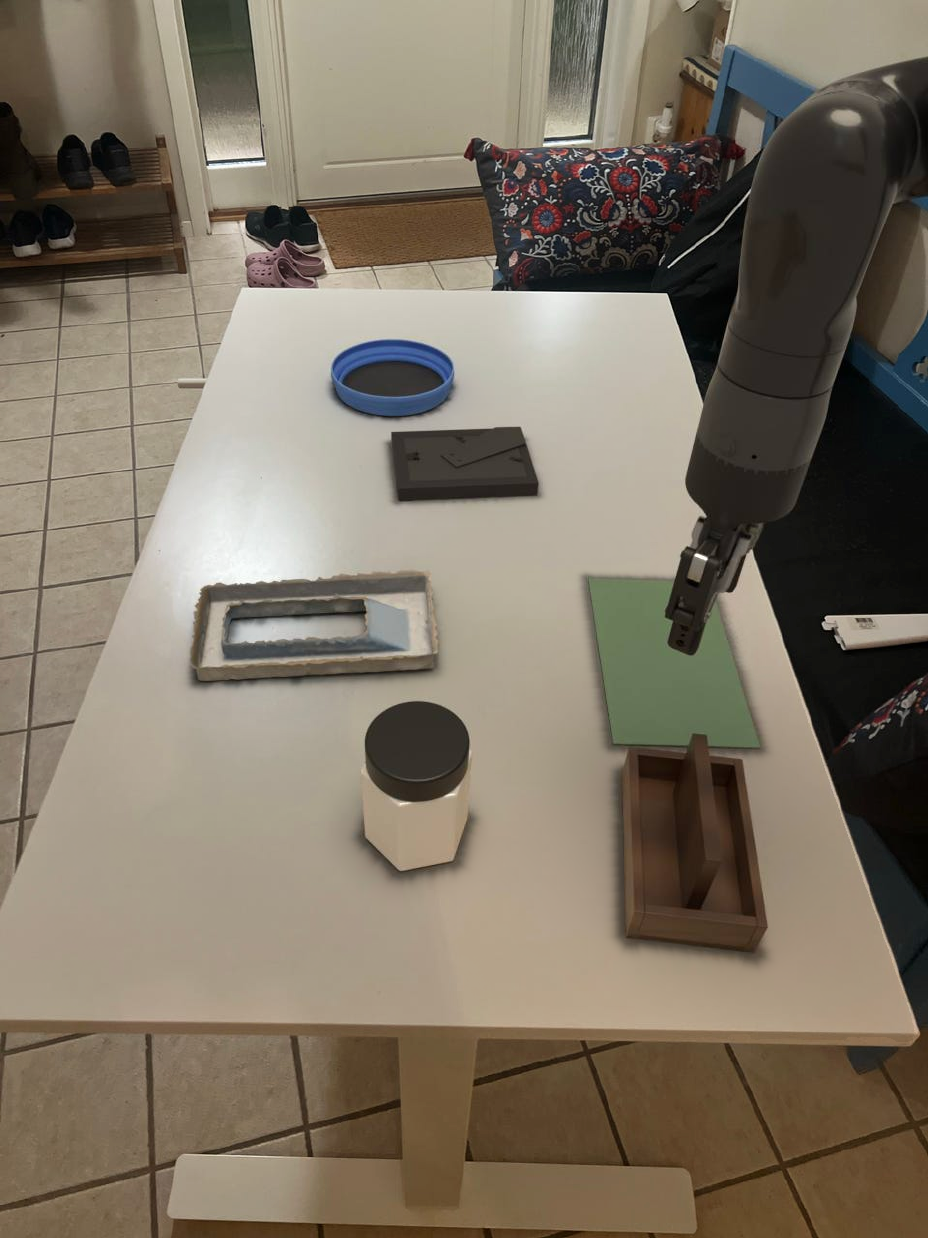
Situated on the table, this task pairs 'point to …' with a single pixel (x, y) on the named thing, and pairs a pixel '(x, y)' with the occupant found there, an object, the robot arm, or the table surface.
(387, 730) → the jar
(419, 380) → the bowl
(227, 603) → the picture frame
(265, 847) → the table surface
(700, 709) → the mat
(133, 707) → the table surface
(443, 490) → the picture frame
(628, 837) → the cutlery caddy
